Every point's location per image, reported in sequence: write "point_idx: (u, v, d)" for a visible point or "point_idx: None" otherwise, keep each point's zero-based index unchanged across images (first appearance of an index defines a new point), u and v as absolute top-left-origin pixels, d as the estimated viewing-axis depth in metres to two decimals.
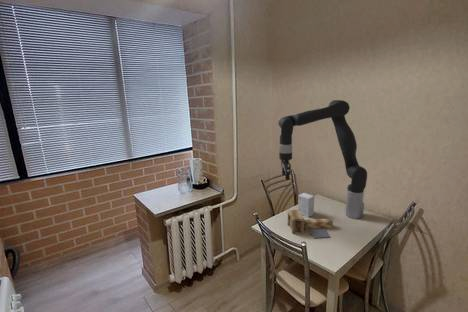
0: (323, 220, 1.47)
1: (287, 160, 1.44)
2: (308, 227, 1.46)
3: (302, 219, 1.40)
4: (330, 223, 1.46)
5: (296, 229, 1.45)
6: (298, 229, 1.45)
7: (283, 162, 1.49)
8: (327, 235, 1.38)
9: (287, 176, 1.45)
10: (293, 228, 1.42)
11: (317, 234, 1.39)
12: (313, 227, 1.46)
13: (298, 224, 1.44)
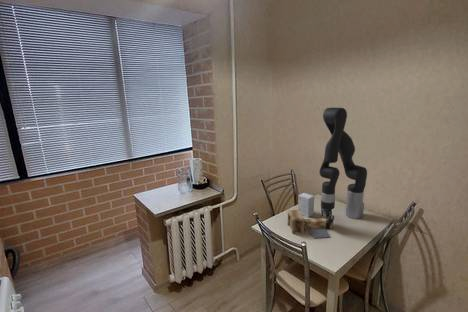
0: (323, 220, 1.47)
1: (330, 209, 1.41)
2: (308, 226, 1.46)
3: (302, 219, 1.40)
4: (330, 223, 1.46)
5: (296, 229, 1.45)
6: (298, 229, 1.45)
7: (324, 209, 1.46)
8: (327, 235, 1.38)
9: (328, 225, 1.45)
10: (293, 228, 1.42)
11: (317, 234, 1.39)
12: (313, 226, 1.46)
13: (298, 224, 1.44)
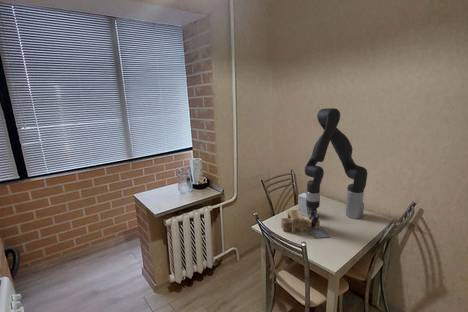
0: (310, 220, 1.46)
1: (315, 208, 1.41)
2: (295, 228, 1.45)
3: (302, 219, 1.40)
4: (317, 224, 1.45)
5: (288, 229, 1.45)
6: (290, 229, 1.45)
7: (310, 208, 1.46)
8: (327, 235, 1.38)
9: (313, 224, 1.44)
10: (293, 228, 1.42)
11: (317, 234, 1.39)
12: None
13: (290, 224, 1.44)
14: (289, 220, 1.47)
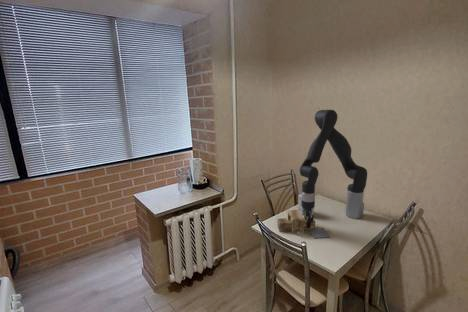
0: (305, 221, 1.47)
1: (310, 209, 1.41)
2: (290, 228, 1.46)
3: (302, 219, 1.40)
4: (312, 224, 1.46)
5: (283, 230, 1.45)
6: (285, 230, 1.45)
7: (305, 209, 1.46)
8: (327, 235, 1.38)
9: (308, 224, 1.44)
10: (293, 228, 1.42)
11: (317, 234, 1.39)
12: (295, 228, 1.46)
13: (285, 225, 1.44)
14: (285, 220, 1.47)
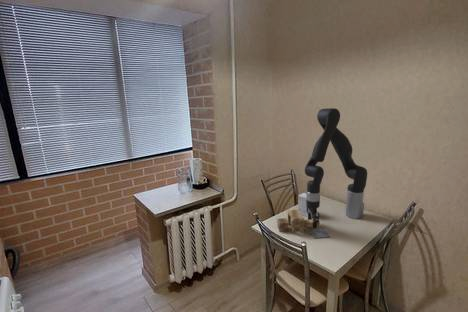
0: (310, 221, 1.47)
1: (315, 208, 1.41)
2: (295, 228, 1.46)
3: (302, 219, 1.40)
4: (317, 224, 1.46)
5: (283, 230, 1.45)
6: (285, 230, 1.45)
7: (310, 209, 1.46)
8: (327, 235, 1.38)
9: (315, 224, 1.42)
10: (293, 228, 1.42)
11: (317, 234, 1.39)
12: None
13: (285, 225, 1.44)
14: (285, 220, 1.47)
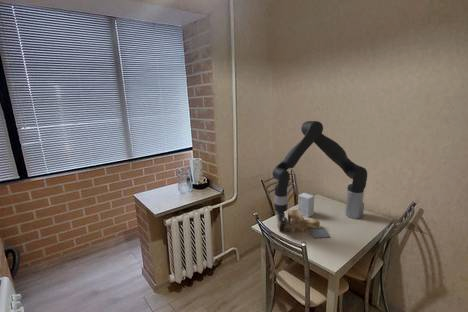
0: (310, 221, 1.47)
1: (282, 212, 1.41)
2: None
3: (302, 219, 1.40)
4: (317, 224, 1.46)
5: None
6: (285, 230, 1.45)
7: (278, 212, 1.45)
8: (327, 235, 1.38)
9: (282, 228, 1.43)
10: (293, 228, 1.42)
11: (317, 234, 1.39)
12: (299, 228, 1.46)
13: (285, 224, 1.44)
14: None
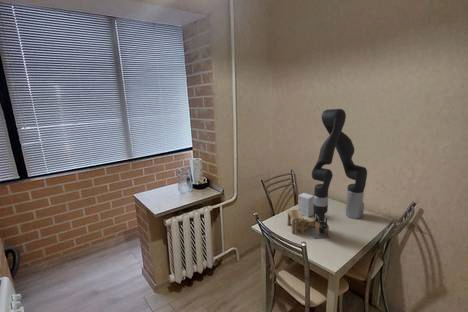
0: (309, 220, 1.48)
1: (323, 213, 1.34)
2: (298, 230, 1.44)
3: (302, 219, 1.40)
4: None
5: None
6: (325, 233, 1.38)
7: (317, 214, 1.39)
8: (327, 235, 1.38)
9: (322, 230, 1.35)
10: (293, 228, 1.42)
11: (317, 234, 1.39)
12: None
13: None
14: None
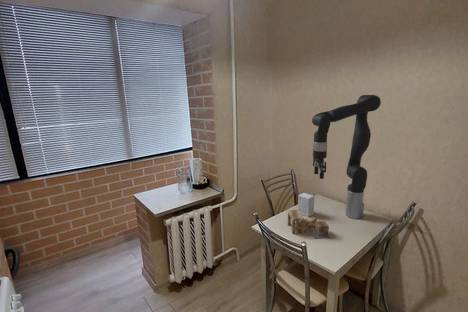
0: (308, 219, 1.48)
1: (322, 158, 1.39)
2: (299, 230, 1.43)
3: (302, 219, 1.40)
4: (315, 221, 1.49)
5: (323, 233, 1.38)
6: (325, 233, 1.38)
7: (316, 160, 1.44)
8: (327, 235, 1.38)
9: (322, 175, 1.40)
10: (293, 228, 1.42)
11: (317, 234, 1.39)
12: None
13: (325, 228, 1.37)
14: (324, 223, 1.40)
